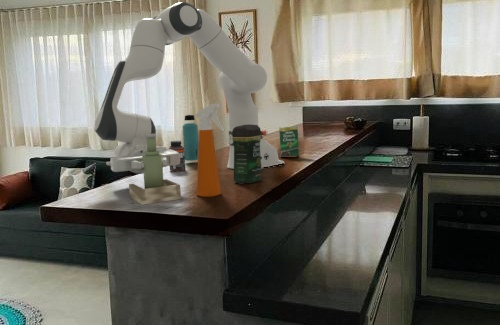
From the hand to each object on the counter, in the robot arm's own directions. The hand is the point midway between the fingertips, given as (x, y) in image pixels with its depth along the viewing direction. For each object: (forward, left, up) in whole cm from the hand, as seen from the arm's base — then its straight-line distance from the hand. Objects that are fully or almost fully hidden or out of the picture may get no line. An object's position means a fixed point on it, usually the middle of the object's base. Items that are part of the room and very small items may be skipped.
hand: (153, 164), depth 139 cm
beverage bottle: (-35, -56, -10) cm, 67 cm away
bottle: (0, -1, -7) cm, 8 cm away
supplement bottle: (-23, -42, -10) cm, 49 cm away
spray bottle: (-15, +6, -10) cm, 19 cm away
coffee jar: (-33, -5, -10) cm, 35 cm away
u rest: (0, -1, -10) cm, 10 cm away
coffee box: (-73, -40, -10) cm, 84 cm away
